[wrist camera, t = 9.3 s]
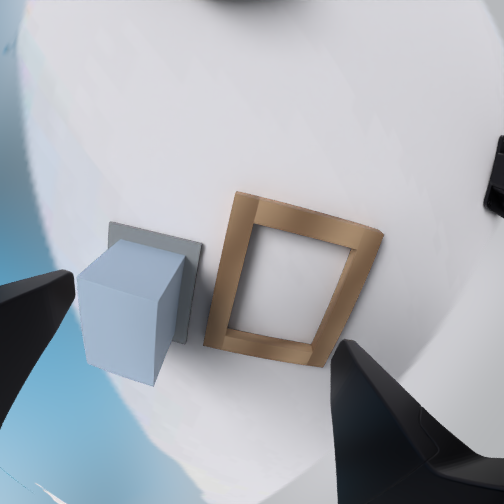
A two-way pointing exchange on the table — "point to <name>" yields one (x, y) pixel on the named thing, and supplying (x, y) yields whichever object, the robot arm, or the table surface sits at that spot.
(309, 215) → the frame
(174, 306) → the part block
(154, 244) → the pad
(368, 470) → the robot arm
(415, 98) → the table surface
